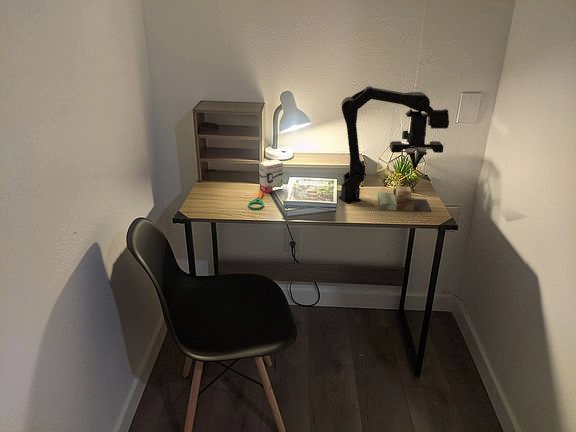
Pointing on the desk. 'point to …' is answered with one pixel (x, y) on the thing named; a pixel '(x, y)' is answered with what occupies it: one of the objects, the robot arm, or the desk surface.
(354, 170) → the robot arm
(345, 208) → the desk surface
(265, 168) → the ink box
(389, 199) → the tunnel course
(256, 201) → the magnifying glass
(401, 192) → the maple block
